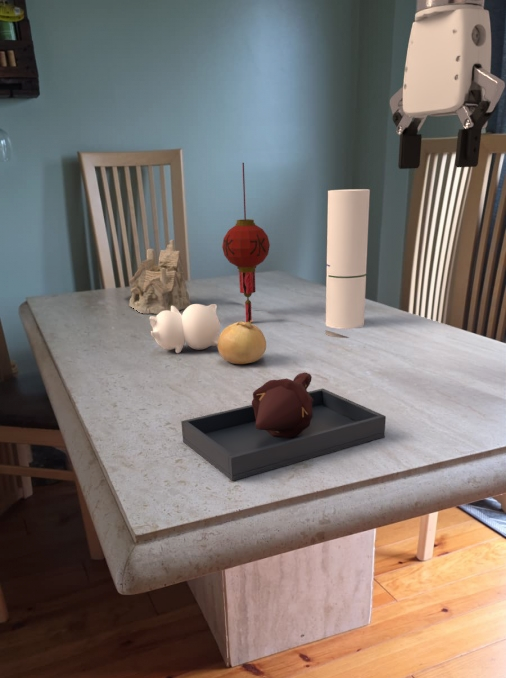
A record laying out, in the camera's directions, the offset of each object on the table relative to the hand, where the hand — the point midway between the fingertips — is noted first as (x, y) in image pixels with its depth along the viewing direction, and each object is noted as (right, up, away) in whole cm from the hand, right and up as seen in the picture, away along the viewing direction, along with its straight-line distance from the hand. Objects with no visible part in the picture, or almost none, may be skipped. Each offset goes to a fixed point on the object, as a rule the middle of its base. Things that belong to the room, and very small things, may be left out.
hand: (436, 167), depth 78 cm
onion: (-25, -21, +25) cm, 41 cm away
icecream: (-19, -34, -5) cm, 39 cm away
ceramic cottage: (-46, -2, +69) cm, 83 cm away
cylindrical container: (-6, -13, +40) cm, 43 cm away
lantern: (-24, -9, +51) cm, 57 cm away
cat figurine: (-35, -17, +33) cm, 51 cm away
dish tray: (-19, -34, -5) cm, 40 cm away
